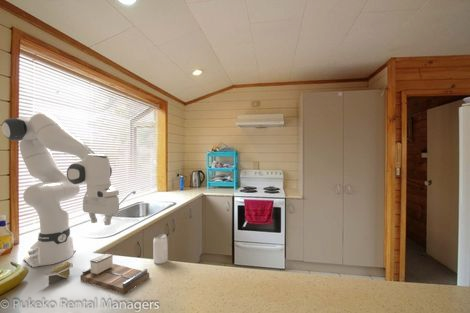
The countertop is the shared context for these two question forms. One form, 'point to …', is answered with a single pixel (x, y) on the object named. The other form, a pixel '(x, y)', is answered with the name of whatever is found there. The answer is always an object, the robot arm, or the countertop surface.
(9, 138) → the robot arm
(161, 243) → the can
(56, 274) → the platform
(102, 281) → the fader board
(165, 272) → the countertop surface
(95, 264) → the white lidded box
